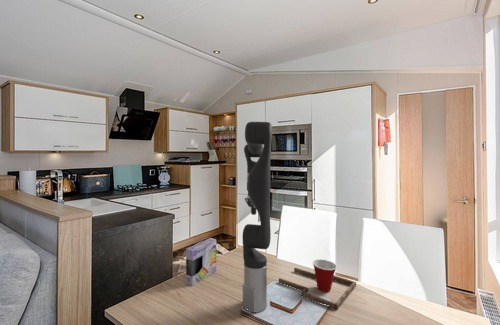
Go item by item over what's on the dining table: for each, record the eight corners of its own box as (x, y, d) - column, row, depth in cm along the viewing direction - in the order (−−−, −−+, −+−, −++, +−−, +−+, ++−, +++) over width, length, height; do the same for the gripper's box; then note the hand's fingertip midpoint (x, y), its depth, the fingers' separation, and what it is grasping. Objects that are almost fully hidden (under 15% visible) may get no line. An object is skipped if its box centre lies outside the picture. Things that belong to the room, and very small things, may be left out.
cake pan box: (191, 287, 120) (191, 250, 120) (183, 284, 123) (183, 248, 122) (217, 271, 137) (217, 238, 136) (210, 269, 139) (209, 237, 139)
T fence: (336, 310, 102) (337, 305, 102) (274, 286, 121) (274, 281, 121) (355, 286, 121) (356, 282, 121) (298, 268, 140) (298, 265, 140)
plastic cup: (340, 295, 113) (340, 268, 113) (315, 295, 113) (315, 268, 113) (332, 283, 124) (332, 258, 124) (310, 283, 124) (310, 258, 124)
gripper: (251, 182, 129) (251, 217, 129) (266, 181, 140) (266, 213, 140) (240, 182, 134) (240, 215, 134) (255, 180, 144) (255, 211, 144)
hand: (253, 214), depth 137 cm, fingers closed
